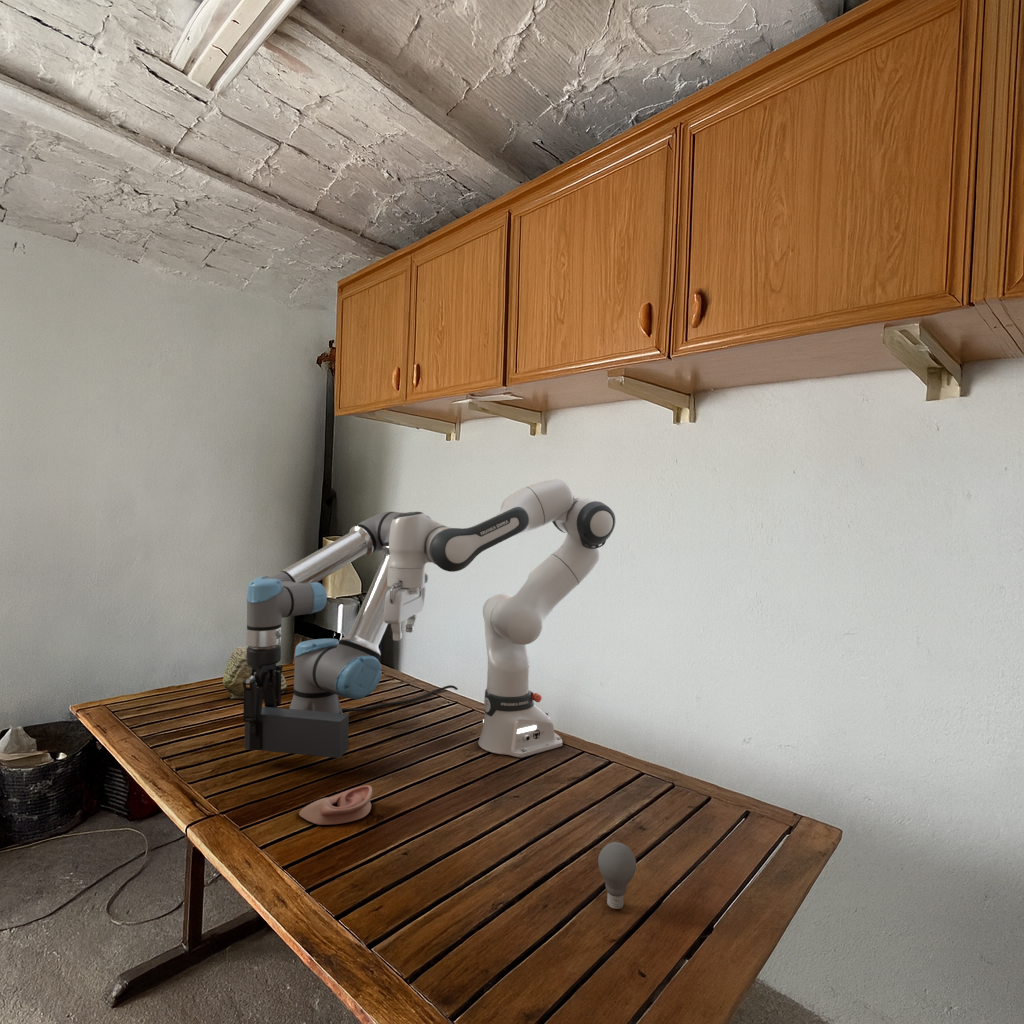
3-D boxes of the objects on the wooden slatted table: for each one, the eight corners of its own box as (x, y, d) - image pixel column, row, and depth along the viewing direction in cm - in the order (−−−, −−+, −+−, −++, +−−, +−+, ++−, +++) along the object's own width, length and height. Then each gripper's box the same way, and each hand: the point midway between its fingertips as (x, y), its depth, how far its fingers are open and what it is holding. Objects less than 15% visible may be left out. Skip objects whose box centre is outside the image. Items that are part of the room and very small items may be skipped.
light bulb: (592, 894, 104) (595, 834, 104) (628, 894, 104) (631, 834, 104) (600, 919, 98) (603, 855, 98) (638, 918, 99) (641, 855, 98)
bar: (244, 748, 147) (244, 713, 147) (255, 740, 152) (256, 705, 151) (339, 758, 143) (340, 721, 143) (348, 749, 148) (348, 713, 148)
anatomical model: (291, 800, 123) (320, 775, 134) (290, 820, 123) (320, 794, 134) (354, 810, 120) (379, 784, 132) (353, 830, 121) (378, 803, 132)
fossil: (218, 695, 195) (220, 647, 195) (278, 685, 208) (279, 640, 207) (228, 703, 189) (230, 653, 188) (289, 692, 201) (290, 645, 201)
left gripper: (257, 656, 139) (256, 761, 139) (297, 637, 156) (296, 730, 157) (226, 654, 140) (224, 758, 141) (269, 635, 157) (267, 728, 158)
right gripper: (404, 585, 142) (402, 646, 142) (430, 574, 162) (428, 628, 162) (378, 583, 143) (375, 644, 143) (406, 573, 163) (404, 626, 163)
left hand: (262, 743), depth 149 cm, fingers closed on bar, 5 cm apart
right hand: (403, 635), depth 153 cm, fingers open, 8 cm apart
